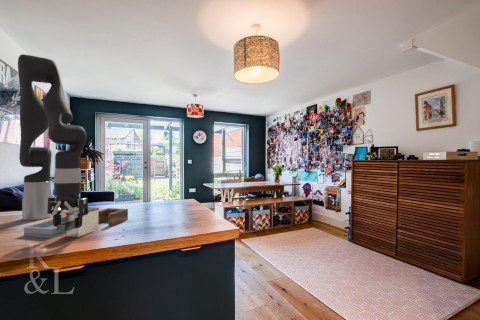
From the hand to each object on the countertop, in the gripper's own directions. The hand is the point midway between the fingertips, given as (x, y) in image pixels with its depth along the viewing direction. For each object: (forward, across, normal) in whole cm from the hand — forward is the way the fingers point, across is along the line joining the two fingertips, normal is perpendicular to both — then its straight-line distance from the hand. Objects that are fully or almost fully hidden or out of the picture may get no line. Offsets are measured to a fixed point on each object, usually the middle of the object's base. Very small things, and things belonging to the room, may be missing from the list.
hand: (67, 226), depth 77 cm
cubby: (+4, 0, +19) cm, 20 cm away
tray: (+4, -12, +7) cm, 15 cm away
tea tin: (+4, 0, +4) cm, 6 cm away
